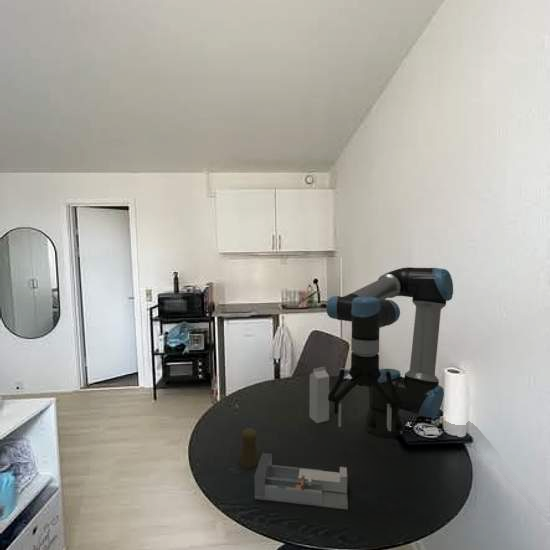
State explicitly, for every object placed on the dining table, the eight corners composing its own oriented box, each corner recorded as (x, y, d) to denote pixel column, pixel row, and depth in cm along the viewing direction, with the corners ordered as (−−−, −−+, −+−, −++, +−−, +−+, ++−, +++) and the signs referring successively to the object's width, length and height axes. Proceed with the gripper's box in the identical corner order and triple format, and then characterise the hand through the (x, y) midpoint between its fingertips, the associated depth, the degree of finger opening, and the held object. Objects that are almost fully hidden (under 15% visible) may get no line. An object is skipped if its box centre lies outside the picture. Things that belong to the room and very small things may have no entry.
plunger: (346, 482, 103) (346, 467, 102) (347, 500, 95) (347, 483, 95) (299, 478, 105) (299, 463, 105) (297, 494, 98) (297, 478, 97)
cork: (244, 470, 111) (244, 437, 110) (237, 460, 116) (237, 428, 115) (261, 464, 114) (261, 432, 113) (253, 455, 119) (253, 424, 118)
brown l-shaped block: (304, 492, 99) (304, 475, 98) (303, 502, 94) (303, 484, 94) (296, 491, 99) (296, 474, 99) (294, 501, 95) (294, 483, 95)
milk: (309, 417, 146) (309, 366, 144) (321, 414, 148) (321, 364, 147) (317, 423, 140) (317, 371, 139) (329, 420, 143) (329, 368, 142)
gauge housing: (346, 482, 104) (346, 460, 104) (347, 509, 94) (347, 485, 93) (262, 474, 109) (262, 452, 108) (254, 498, 98) (254, 475, 97)
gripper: (409, 350, 97) (407, 423, 99) (320, 347, 101) (320, 416, 103) (415, 359, 90) (413, 437, 91) (319, 354, 94) (319, 429, 95)
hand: (364, 426), depth 97 cm, fingers open, 13 cm apart
